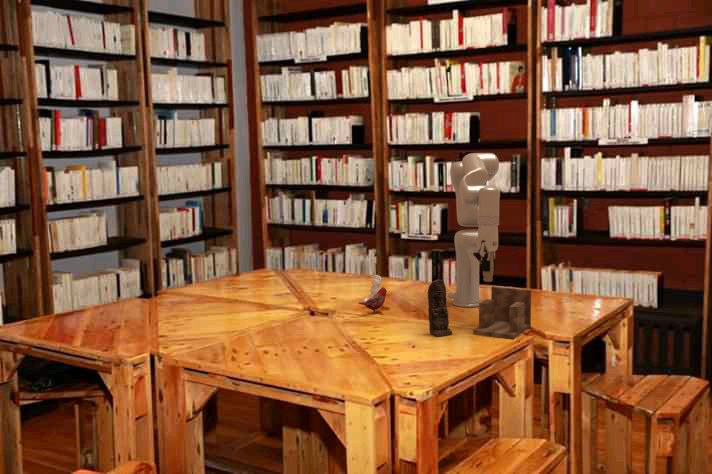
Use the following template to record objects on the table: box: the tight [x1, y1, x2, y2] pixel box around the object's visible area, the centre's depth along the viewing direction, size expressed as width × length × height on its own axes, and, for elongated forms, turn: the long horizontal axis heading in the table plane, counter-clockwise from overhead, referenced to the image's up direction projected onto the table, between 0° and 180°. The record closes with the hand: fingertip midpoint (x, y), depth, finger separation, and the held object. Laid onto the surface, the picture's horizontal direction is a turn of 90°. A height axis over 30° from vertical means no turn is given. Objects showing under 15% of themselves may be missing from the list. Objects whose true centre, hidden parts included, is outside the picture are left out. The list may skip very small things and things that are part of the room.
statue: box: [427, 279, 453, 337], centre depth 291 cm, size 7×7×20 cm
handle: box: [482, 241, 497, 283], centre depth 297 cm, size 5×6×15 cm
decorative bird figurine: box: [357, 286, 388, 315], centre depth 323 cm, size 3×18×10 cm, turn 137°
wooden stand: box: [472, 285, 532, 340], centre depth 295 cm, size 15×20×14 cm
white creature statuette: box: [361, 274, 385, 302], centre depth 343 cm, size 10×9×12 cm
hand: (488, 269), depth 297 cm, fingers closed on handle, 3 cm apart
